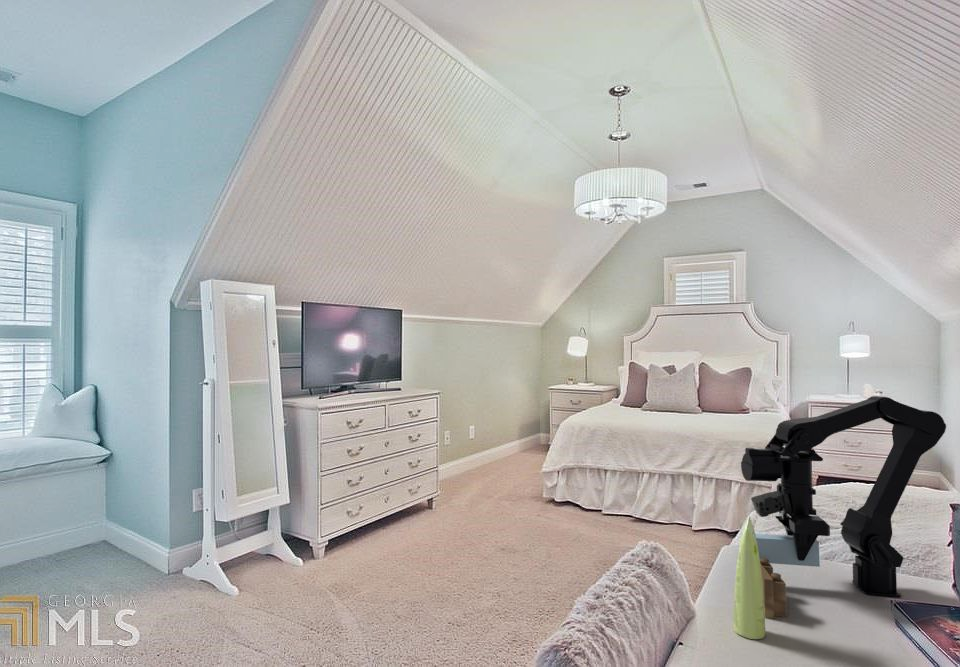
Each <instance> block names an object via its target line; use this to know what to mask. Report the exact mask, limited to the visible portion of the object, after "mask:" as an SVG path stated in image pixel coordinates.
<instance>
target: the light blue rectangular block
mask: <svg viewBox="0 0 960 667" xmlns="http://www.w3.org/2000/svg"><path fill="white" fill-rule="evenodd" d="M755 536H756V541H757V546H758V552H759V558H766V559H768V560H769V563H770V564H772V565H773V564H777V565H789V566H801V567H802V566H803V567H805V566H806V567H819V568H820V564H821V563H820V544H819V542H820V541H818V540H817V539H816V540H815V542H814V544H813V545H812V547H811V549H810V551H809V553H808V554H807V556H806V558H805V560H804V561H800V560H798V558H797V553H796V548H795V543H794V537H793V536H787V534H786V535H784V534H767V533H755Z"/></svg>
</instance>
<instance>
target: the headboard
mask: <svg viewBox="0 0 960 667" xmlns="http://www.w3.org/2000/svg"><path fill="white" fill-rule="evenodd" d="M760 565H761V573H762V583H763V596H764V612H765V619H769V620H770V619H771V620H772V619H773V620H774V619H775V617H783V618H786V617H787V587H786V586H787V584H786V582H785V581H784V580H783V578H782V575H781V573H778V572H774V567H773V566H772V564H771V563H769V560H768V559H766V558H760Z"/></svg>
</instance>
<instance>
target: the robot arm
mask: <svg viewBox="0 0 960 667" xmlns="http://www.w3.org/2000/svg"><path fill="white" fill-rule="evenodd" d="M878 419H881V420H883V421H884V422H886V423H888V424H890V425H893V426H892V428H891V435H892V446H891V449H890V451H889V453H888V455H887V457H886V459H885V461H884V463H883V465H882V468H881V469H880V472H879V474H878V475H877V478H876V480H875V482H874V484H873V486H872V488H871V490H870V493H869V494H868V497H867V498H866V501H865V502H864V504H863V506H861V507H860V508H858V509H857V510H855V509H853V508H851V507H850V508H848V509H847V511H846V514H845V517H844V519H843V520H842V521H841V522H840V526H841V529H840V530H841V531H840V535H841V536H842V539H843V541H844V542H845V543H846V545H848V547H849V550H850V551H851V553H853V554H855V555H854V562H853V563H852V580H851V582H852V583H853V584H854V585H855V586H856V587H857V589H859V590H860V591H861V592H862V593H863V594H865V595H870V596H880V597H882V596H883V597H891V598H892V597H893V598H902V594H901V593H900V592H899V591H898V588H897V584H898V583H897V582H898V580H897V568H901V567H902V564H903V562H904V556H903V555H902V554H901V553H900V552H898V551H897V549H895V548H894V546H892V545H891V542H892V538H893V527H892V516H893V514H894V512H895V510H896V509H897V506H898V504H899V502H900V499H901V498H902V495H903V494H904V492H905V489H906V487H907V485H909V484H908V483H909V481H910V480H911V477H912V476H913V473H914V472H915V471H914V470H916V467H917V466H918V463H919V462H920V459H921V457H922V455H924V454H925V453H927V452H928V451H930V450H931V449H933V448H934V447H935V446H936V445H937V444H938V442H939V441H940V440H941V438H942V437H943V435H944V434H945V433H946V429H947V424H946V423H945V420H944V418H943V417H942V416H941V415H940V414H939V413H937V412H935V411H930V410H923V409H919V408H915V407H912V406H910V405H906V404H903V403H901V402H899V401H897V400H894V399H893V398H891V397H887V396H878V395H872V396H870V397H869V398H866V399H865V400H864V399H863V400H861V401H858V402H855V403H852V404H849V405H846V406H844V407H841V408H838V409H835V410H831V411H829V412H826V413H824V414H820V415H817V416H812V417H798V418H793V419H786V420H783V421H781V422H780V423H778V424H777V427H776V430H775V434H774V435H773V437H772V438H771V439H770V440H769V441H768V443H767V445H766V446H765V447H764V448H754V447H745V449H744V451H745V453H743V456H742V459H741V461H740V468H741V474H742V476H743V479H744V480H745V481H747V482H750V481H751V482H777V481H778V480H779V479H780V483H778V484H777V485H776V490H775V491H769V492H766V493H762V494H758V495H755V496H752V497H751V498H750V499H751V503H752V505H753V507H754V510H755V512H756V514H757V515H759V517H761V518H764V517H766V518H767V517H768V516H770V515H772V514H776V513H779V515H775V519H777V520H778V522H780V523H781V525H782V526H783V528H784V530H785V533H786V535H787V536H793V537H794V543H795V548H796V553H797V558H798V560H800V561H804V560H805V558H806V556H807V554H808V553H809V551H810V549H811V547H812V545H813V544H814V542H815V540H817V539H818V537H819V536H821V537H830V536H831V526H830V525H829V524H828V523H827V521H825V520H824V519H823V518H821V517H820V516H819V515H817V510H816V508H814V505H813V500H814V499H813V498H814V495H815V496H816V495H817V490H816V489H815V488H813V462H823V461H824V458H823V457H822V456H821V455H819V454H818V453H817V452H816V450H815V449H813V448H815V447H817V446H818V445H821V444H822V443H824V441H826V439H828V438H829V437H831V436H832V435H836V434H838V433H839V432H840V433H841V432H843V431H846V430H849V429H852V428H854V427H855V428H856V427H858V426H860V425H864V424H866V423H870V422H873V421H875V420H878Z"/></svg>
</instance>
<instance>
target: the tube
mask: <svg viewBox="0 0 960 667" xmlns="http://www.w3.org/2000/svg"><path fill="white" fill-rule="evenodd" d="M747 518H748V519H747V521H746V522H745V526H744V529H743V532H742V536H741V539H740V544H739V549H738V555H737V561H736V569H735V580H734V581H735V582H734V583H735V584H734V604H733V605H734V606H733V609H734V610H733V611H734V612H733V630H734V632H735V633H736V634H737V635H739V636H740V637H743V638H746V639H751V640H760V639H764V638H765V637H766V618H765V612H764V596H763V583H762V573H761V565H760V558H759V552H758V546H757V541H756V536H755V534H756V533H755V528H754V524H753V522H752V518H751V515H750V513H748V517H747Z"/></svg>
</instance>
